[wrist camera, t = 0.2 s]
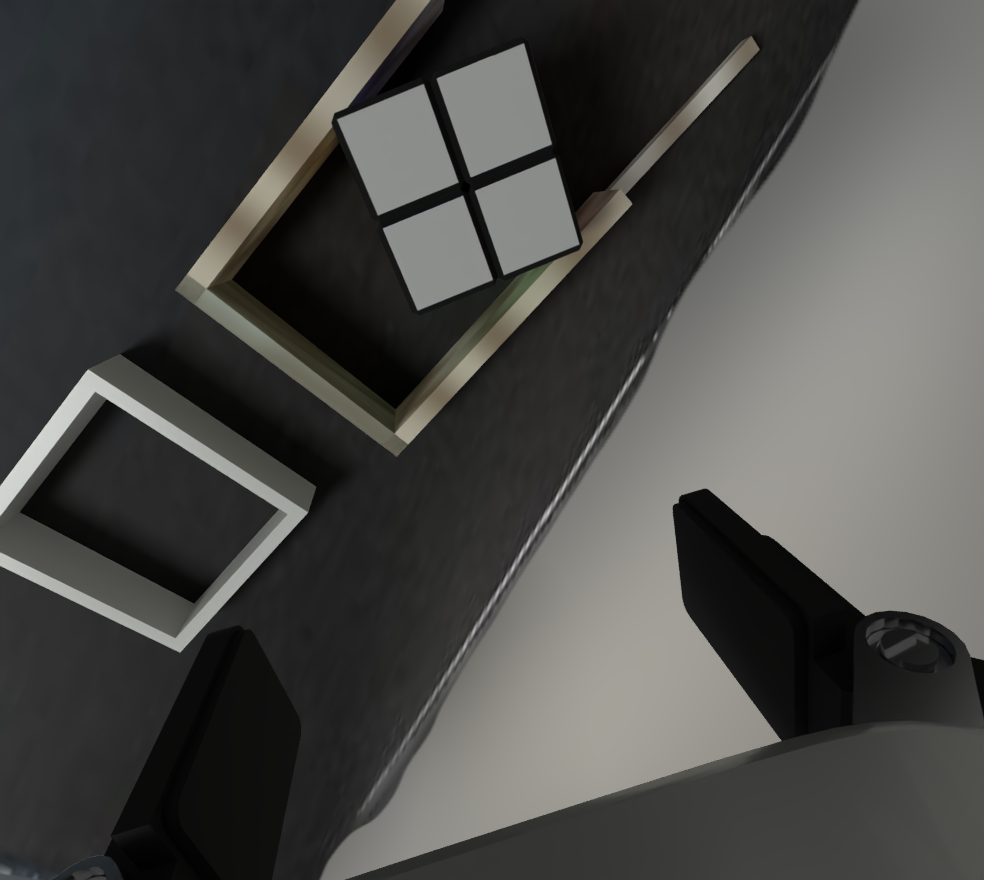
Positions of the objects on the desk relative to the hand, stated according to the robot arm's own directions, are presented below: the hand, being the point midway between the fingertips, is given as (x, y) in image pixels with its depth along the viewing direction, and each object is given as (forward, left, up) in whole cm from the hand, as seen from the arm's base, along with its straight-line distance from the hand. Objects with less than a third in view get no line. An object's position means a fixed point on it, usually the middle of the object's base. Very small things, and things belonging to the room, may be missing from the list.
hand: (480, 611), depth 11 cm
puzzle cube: (-8, -5, -30) cm, 32 cm away
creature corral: (+23, -6, -30) cm, 38 cm away
